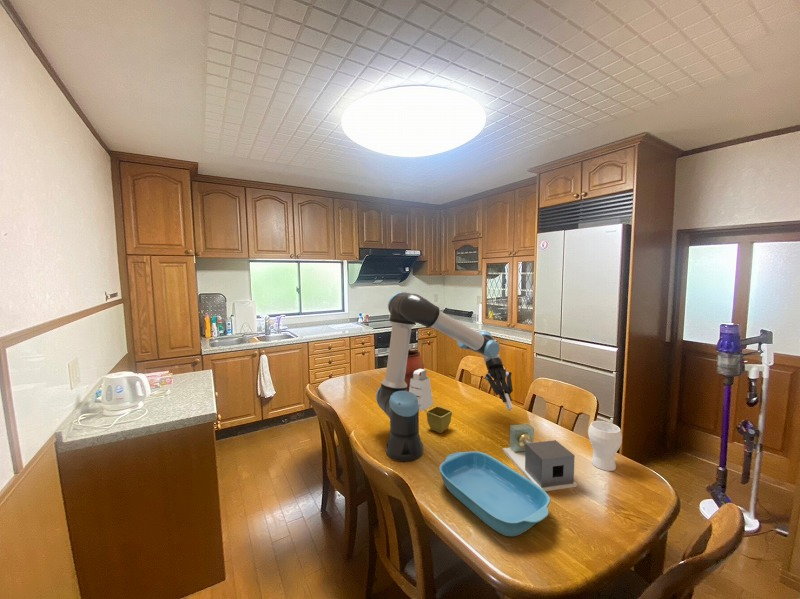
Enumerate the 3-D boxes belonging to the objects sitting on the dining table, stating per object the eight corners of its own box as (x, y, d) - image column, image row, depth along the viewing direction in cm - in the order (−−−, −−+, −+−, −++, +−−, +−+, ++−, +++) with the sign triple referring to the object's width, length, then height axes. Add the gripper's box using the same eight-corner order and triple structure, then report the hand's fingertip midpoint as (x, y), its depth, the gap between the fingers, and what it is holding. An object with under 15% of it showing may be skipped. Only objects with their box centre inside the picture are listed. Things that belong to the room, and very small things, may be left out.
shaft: (509, 446, 133) (510, 425, 132) (527, 444, 134) (528, 423, 133) (534, 472, 115) (535, 448, 114) (555, 470, 117) (555, 446, 116)
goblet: (430, 394, 194) (429, 353, 192) (401, 400, 186) (400, 357, 183) (414, 384, 211) (414, 347, 209) (387, 389, 203) (387, 350, 201)
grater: (406, 407, 177) (406, 371, 175) (417, 400, 185) (417, 366, 183) (423, 411, 170) (422, 374, 169) (433, 405, 179) (433, 369, 177)
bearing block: (524, 469, 118) (525, 443, 117) (554, 466, 120) (555, 440, 119) (541, 487, 108) (542, 459, 107) (573, 483, 110) (574, 455, 109)
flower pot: (452, 429, 151) (452, 410, 150) (441, 436, 144) (441, 417, 144) (437, 423, 157) (437, 405, 156) (425, 430, 150) (425, 411, 150)
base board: (502, 450, 133) (502, 448, 132) (534, 447, 135) (534, 444, 135) (539, 491, 107) (539, 489, 107) (577, 486, 110) (577, 484, 110)
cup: (621, 477, 115) (623, 436, 113) (586, 467, 120) (588, 428, 119) (619, 462, 124) (621, 424, 122) (587, 454, 129) (589, 417, 128)
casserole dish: (565, 523, 94) (566, 500, 94) (515, 560, 82) (516, 534, 82) (473, 461, 125) (473, 444, 125) (427, 482, 113) (427, 463, 113)
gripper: (482, 357, 151) (499, 407, 136) (508, 356, 153) (527, 404, 138) (477, 365, 157) (493, 413, 142) (502, 363, 159) (520, 411, 144)
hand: (510, 409), depth 140 cm, fingers closed
